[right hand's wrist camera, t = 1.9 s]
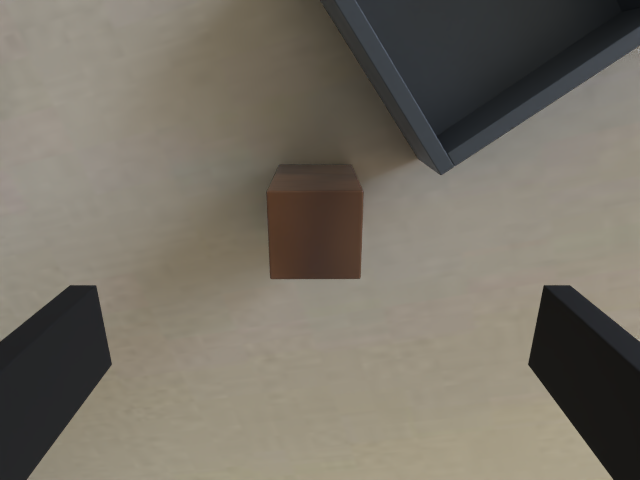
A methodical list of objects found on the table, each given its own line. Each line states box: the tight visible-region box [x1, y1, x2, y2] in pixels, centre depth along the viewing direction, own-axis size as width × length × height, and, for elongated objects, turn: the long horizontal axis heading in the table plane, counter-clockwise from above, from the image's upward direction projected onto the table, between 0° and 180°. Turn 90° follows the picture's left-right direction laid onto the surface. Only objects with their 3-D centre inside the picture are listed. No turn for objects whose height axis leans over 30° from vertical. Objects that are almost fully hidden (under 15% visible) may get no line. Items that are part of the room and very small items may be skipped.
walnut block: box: [266, 165, 364, 279], centre depth 24 cm, size 4×4×7 cm
